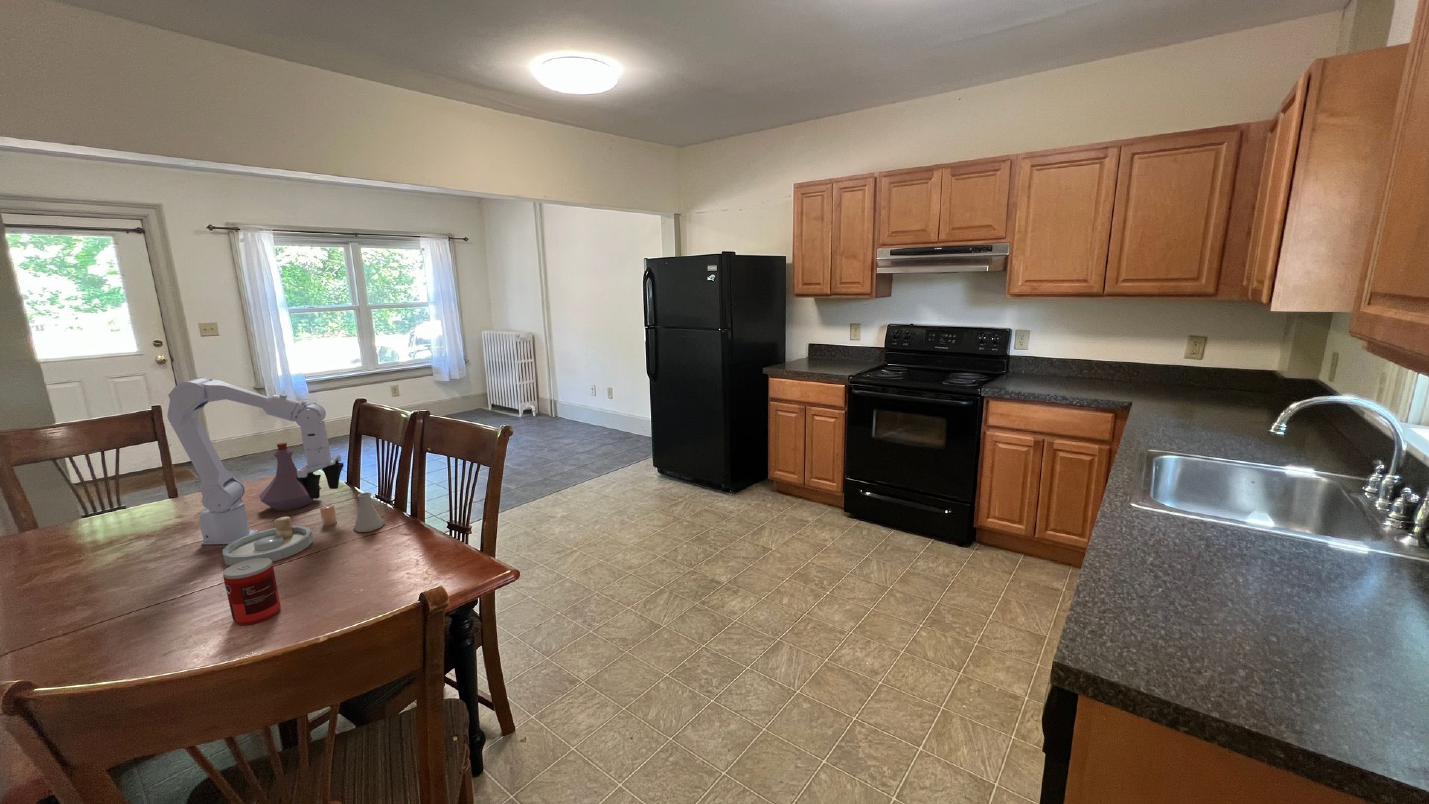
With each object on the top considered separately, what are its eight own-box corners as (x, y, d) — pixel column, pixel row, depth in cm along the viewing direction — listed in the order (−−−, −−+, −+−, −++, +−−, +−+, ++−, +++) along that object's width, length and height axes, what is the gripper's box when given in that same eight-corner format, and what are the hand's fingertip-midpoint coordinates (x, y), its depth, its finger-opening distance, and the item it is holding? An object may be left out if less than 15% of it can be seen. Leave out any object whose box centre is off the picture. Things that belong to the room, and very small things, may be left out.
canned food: (250, 606, 118) (240, 558, 116) (290, 603, 119) (281, 556, 117) (222, 627, 111) (211, 577, 109) (265, 624, 112) (254, 574, 109)
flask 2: (370, 534, 153) (365, 499, 151) (348, 532, 154) (342, 498, 152) (390, 523, 160) (385, 490, 158) (368, 521, 161) (363, 488, 159)
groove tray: (204, 566, 136) (202, 557, 136) (264, 534, 154) (262, 526, 153) (276, 566, 136) (274, 556, 135) (328, 534, 154) (326, 525, 153)
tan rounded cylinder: (284, 534, 152) (281, 516, 151) (296, 533, 152) (293, 516, 151) (274, 539, 148) (270, 521, 147) (286, 539, 148) (283, 521, 147)
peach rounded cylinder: (320, 526, 159) (317, 509, 158) (328, 521, 162) (325, 505, 161) (331, 526, 159) (328, 509, 158) (339, 521, 162) (337, 505, 161)
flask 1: (336, 499, 180) (325, 439, 176) (279, 518, 165) (266, 454, 161) (305, 492, 186) (294, 435, 182) (248, 510, 172) (235, 448, 168)
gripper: (311, 454, 149) (320, 502, 151) (347, 440, 163) (355, 484, 166) (285, 455, 149) (294, 503, 152) (324, 440, 163) (331, 484, 166)
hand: (324, 493), depth 159 cm, fingers open, 7 cm apart
